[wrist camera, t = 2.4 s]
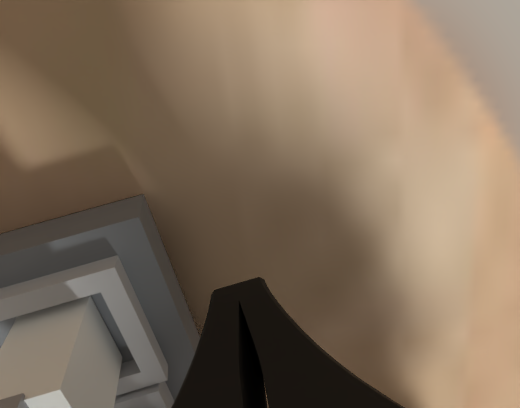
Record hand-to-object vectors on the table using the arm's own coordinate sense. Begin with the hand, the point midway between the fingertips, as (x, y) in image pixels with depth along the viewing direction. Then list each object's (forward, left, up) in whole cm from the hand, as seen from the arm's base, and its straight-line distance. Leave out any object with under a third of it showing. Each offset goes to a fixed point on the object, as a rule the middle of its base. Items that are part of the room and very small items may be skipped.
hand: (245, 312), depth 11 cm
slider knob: (0, +5, -1) cm, 5 cm away
